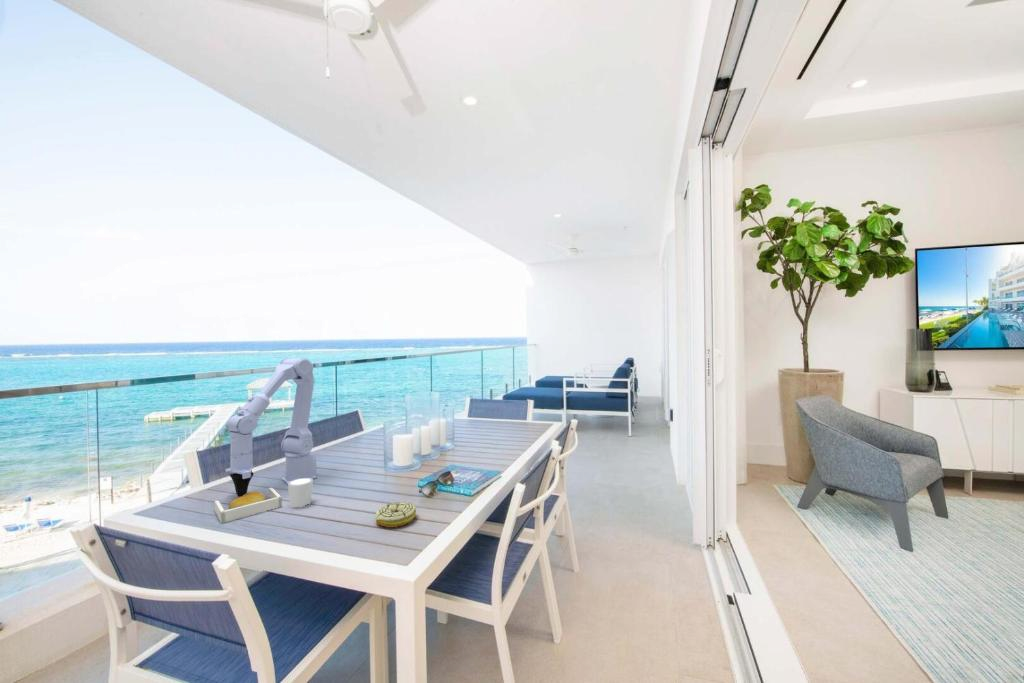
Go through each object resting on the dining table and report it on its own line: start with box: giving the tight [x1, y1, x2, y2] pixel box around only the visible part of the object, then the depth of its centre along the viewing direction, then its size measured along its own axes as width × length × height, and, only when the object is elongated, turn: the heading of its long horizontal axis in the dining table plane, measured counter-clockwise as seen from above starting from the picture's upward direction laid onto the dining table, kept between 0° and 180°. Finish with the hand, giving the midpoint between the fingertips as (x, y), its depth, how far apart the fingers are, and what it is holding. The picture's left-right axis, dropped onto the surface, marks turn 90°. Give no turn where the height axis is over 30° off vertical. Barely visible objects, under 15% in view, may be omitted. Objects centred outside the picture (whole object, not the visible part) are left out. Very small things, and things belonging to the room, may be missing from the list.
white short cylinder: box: [287, 478, 314, 508], centre depth 116 cm, size 7×7×7 cm
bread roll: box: [228, 491, 267, 510], centre depth 114 cm, size 8×9×4 cm
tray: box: [214, 487, 283, 524], centre depth 113 cm, size 15×11×3 cm
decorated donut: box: [374, 501, 417, 528], centre depth 106 cm, size 10×11×4 cm
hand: (241, 495), depth 120 cm, fingers closed
